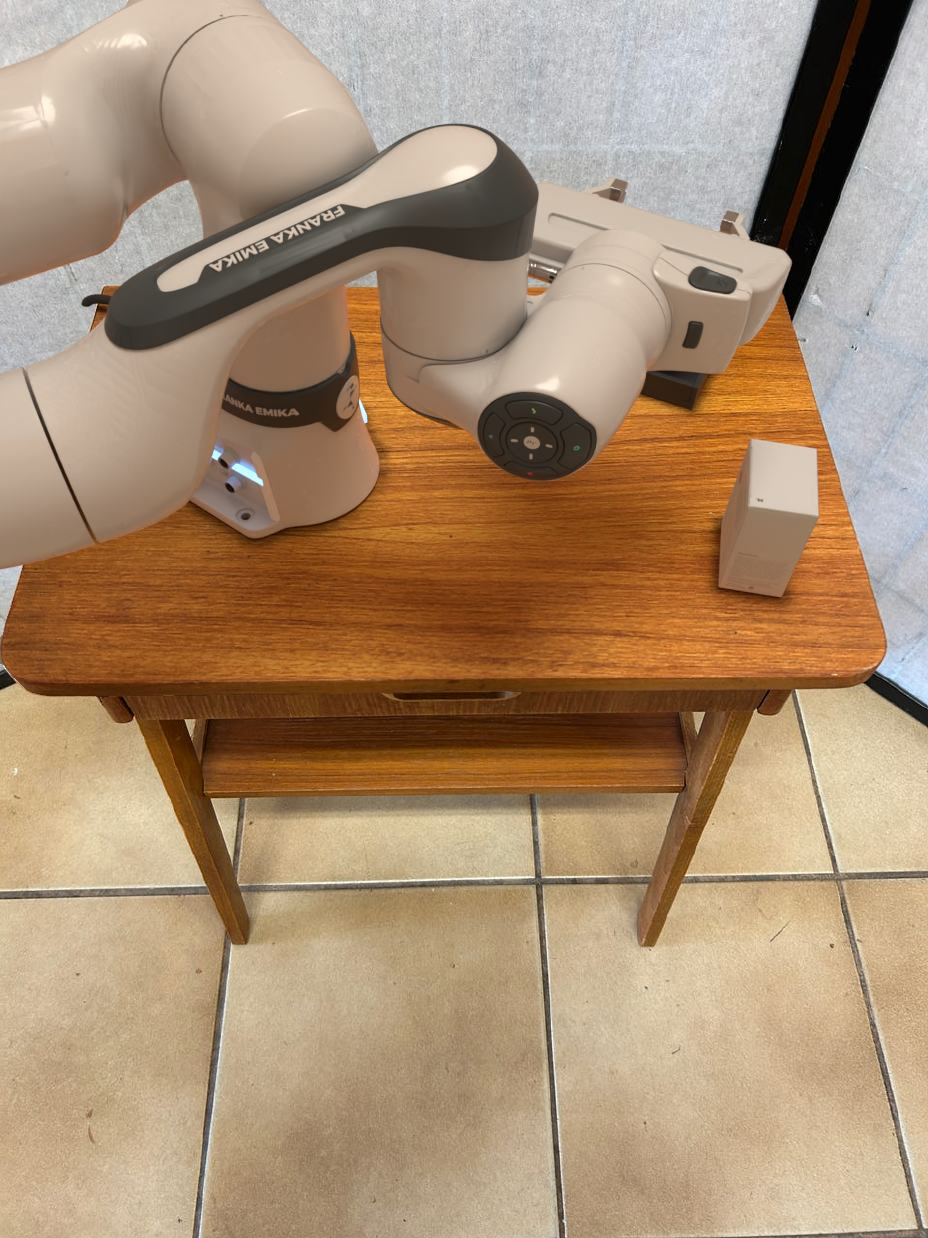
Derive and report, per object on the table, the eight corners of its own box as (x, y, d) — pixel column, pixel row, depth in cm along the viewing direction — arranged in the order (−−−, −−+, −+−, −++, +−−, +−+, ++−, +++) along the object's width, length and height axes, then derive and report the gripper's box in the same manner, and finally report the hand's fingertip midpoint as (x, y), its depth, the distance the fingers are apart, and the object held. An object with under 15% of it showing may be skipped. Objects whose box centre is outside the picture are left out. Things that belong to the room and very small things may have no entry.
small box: (781, 600, 82) (821, 518, 73) (715, 588, 82) (747, 506, 74) (782, 531, 86) (819, 446, 78) (720, 520, 87) (750, 435, 78)
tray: (606, 382, 98) (610, 360, 95) (641, 321, 104) (646, 299, 101) (692, 409, 96) (698, 388, 93) (723, 345, 102) (729, 323, 99)
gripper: (477, 295, 71) (545, 205, 78) (744, 381, 66) (789, 277, 74) (483, 217, 66) (555, 128, 73) (772, 304, 61) (817, 201, 69)
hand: (675, 204), depth 74 cm, fingers open, 8 cm apart
